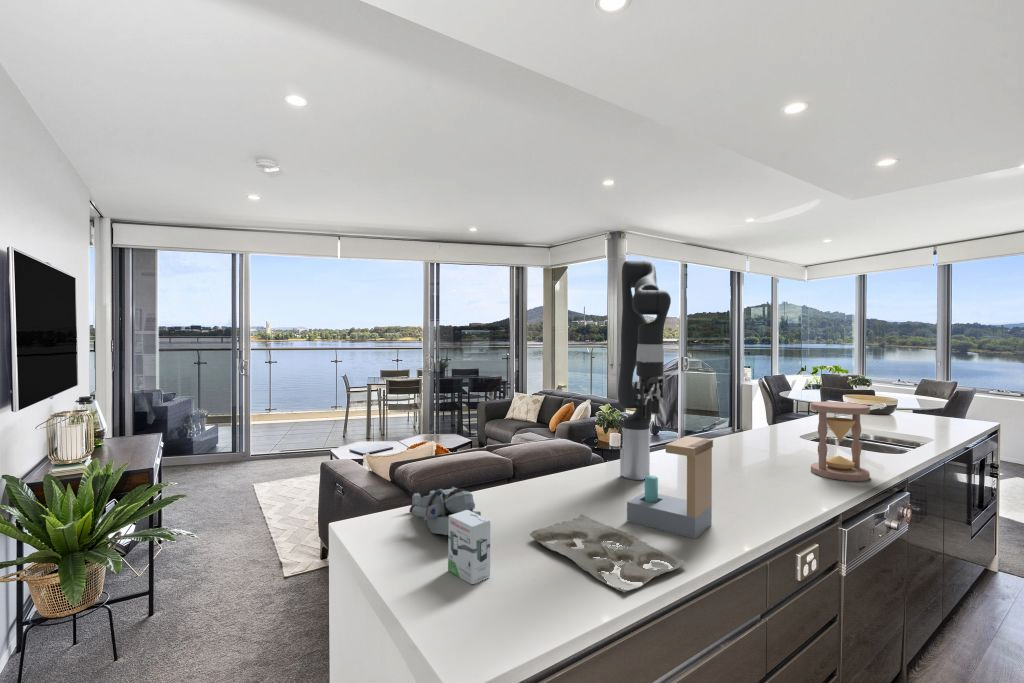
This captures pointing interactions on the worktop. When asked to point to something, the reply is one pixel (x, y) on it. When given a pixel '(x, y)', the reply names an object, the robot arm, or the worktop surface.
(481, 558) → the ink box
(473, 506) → the toy
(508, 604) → the worktop surface
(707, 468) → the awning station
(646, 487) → the peg
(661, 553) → the stone relief
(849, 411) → the hourglass
